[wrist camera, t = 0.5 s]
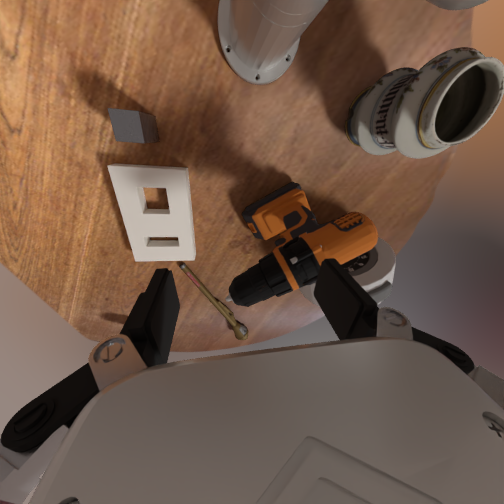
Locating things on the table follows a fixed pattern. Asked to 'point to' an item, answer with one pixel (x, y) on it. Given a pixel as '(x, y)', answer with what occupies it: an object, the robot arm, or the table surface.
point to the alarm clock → (368, 272)
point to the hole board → (155, 211)
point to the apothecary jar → (427, 105)
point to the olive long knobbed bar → (218, 306)
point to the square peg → (133, 126)
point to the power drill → (296, 245)
